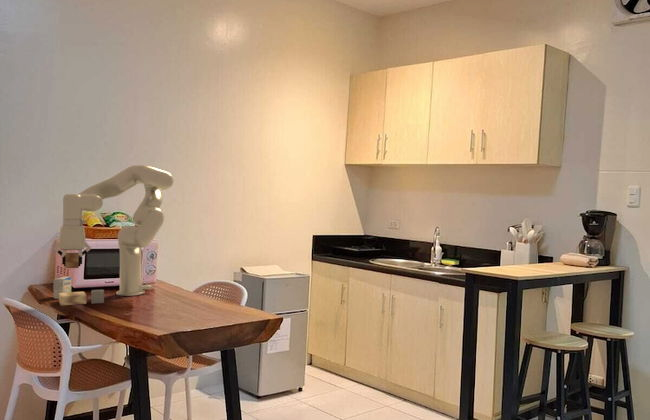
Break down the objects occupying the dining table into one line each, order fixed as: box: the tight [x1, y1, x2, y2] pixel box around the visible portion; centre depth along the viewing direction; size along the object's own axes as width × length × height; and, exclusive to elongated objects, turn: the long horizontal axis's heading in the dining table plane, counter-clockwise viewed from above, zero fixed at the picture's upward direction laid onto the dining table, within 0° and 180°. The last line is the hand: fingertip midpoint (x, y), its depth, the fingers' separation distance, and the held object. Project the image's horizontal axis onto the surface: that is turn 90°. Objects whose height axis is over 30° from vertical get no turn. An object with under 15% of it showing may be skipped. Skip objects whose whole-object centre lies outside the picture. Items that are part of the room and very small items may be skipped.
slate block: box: [90, 289, 105, 304], centre depth 249 cm, size 5×5×5 cm
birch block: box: [58, 291, 87, 306], centre depth 248 cm, size 10×10×4 cm
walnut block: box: [64, 252, 80, 269], centre depth 247 cm, size 5×5×6 cm
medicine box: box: [53, 276, 72, 300], centre depth 260 cm, size 8×4×9 cm, turn 179°
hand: (72, 265), depth 247 cm, fingers closed on walnut block, 5 cm apart
